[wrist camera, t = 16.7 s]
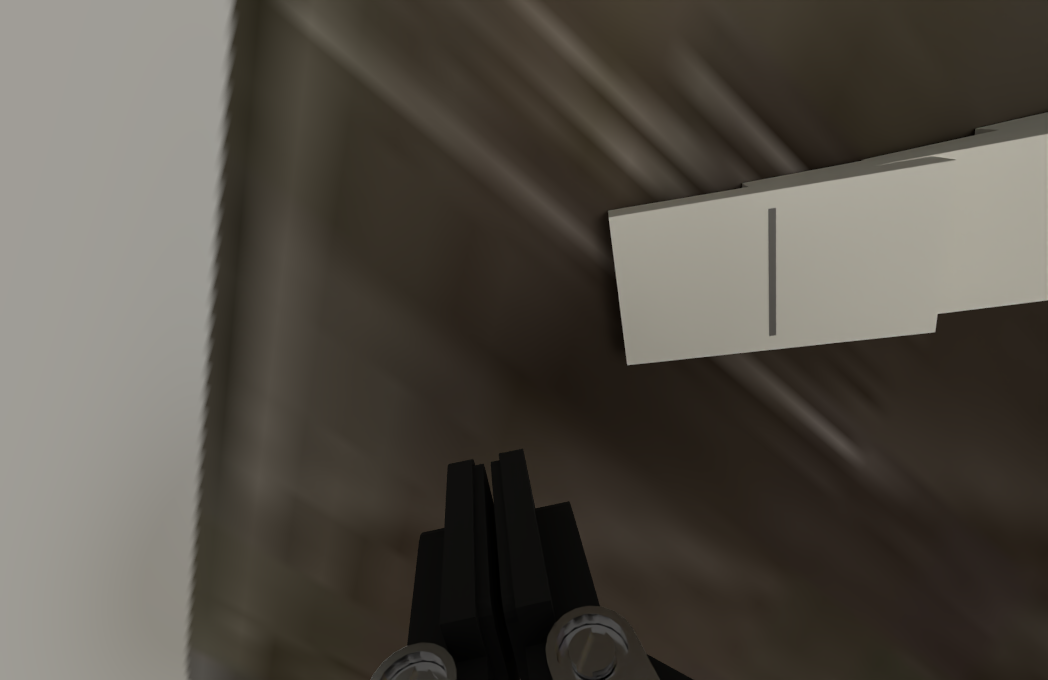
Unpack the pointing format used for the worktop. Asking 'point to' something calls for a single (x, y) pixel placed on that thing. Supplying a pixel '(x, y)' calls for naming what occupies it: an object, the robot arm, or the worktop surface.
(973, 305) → the domino
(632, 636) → the robot arm
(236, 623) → the worktop surface
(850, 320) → the domino
